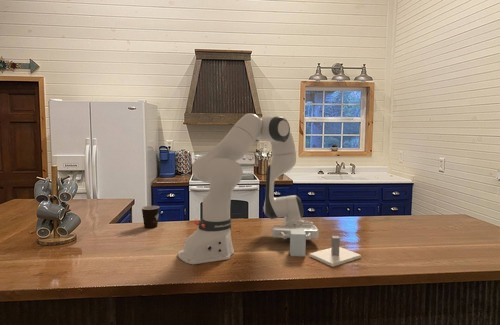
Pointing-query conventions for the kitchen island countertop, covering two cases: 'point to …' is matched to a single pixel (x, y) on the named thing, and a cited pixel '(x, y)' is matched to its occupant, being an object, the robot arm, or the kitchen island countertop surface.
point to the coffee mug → (150, 216)
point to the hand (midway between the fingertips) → (296, 237)
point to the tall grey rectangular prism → (297, 242)
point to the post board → (335, 259)
